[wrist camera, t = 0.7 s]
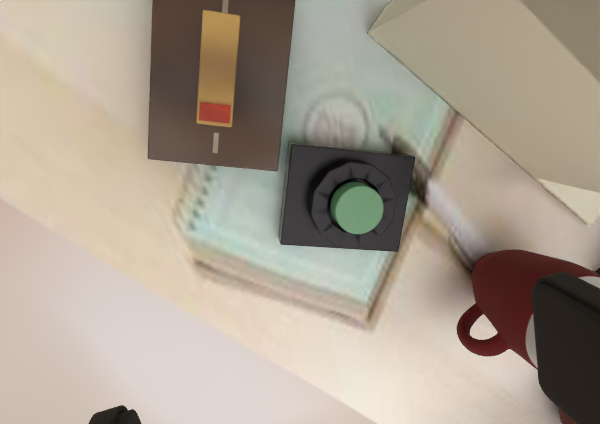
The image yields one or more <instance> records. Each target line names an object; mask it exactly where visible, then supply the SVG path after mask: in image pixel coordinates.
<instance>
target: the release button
mask: <svg viewBox="0 0 600 424" xmlns="http://www.w3.org/2000/svg"><path fill="white" fill-rule="evenodd" d="M330 210H331V214H332V216H333V218H334V220H335V221H336V222H337V223H338V224H339V225H340V226H341V227H342V228H343V229H344V230H345V231H347V232H349V233H352V234H363V233H366V232H369V231H371V230H372V229H373V228H375V227H376V226H377V225H378V223H379V222H380V220H381V218H382V215H383V201H382V199H381V197H380V195H379V194H378V193H377V192H376V191H375V190H374V189H372V188H370V187H369V186H367V185H365V184H363V183H360V182H349V183H346V184H344V185H342V186H341V187H339V188H338V189H337V190H336V191H335V193H334V194H333V196H332V199H331V203H330Z"/></svg>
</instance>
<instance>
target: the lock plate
mask: <svg viewBox="0 0 600 424" xmlns="http://www.w3.org/2000/svg"><path fill="white" fill-rule="evenodd" d="M294 8H295V0H153V5H152V37H151V70H150V102H149V135H148V159H152V160H163V161H173V162H184V163H195V164H205V165H216V166H227V167H237V168H248V169H259V170H269V171H277V170H278V161H279V151H280V142H281V132H282V123H283V113H284V104H285V94H286V85H287V75H288V65H289V56H290V46H291V37H292V27H293V18H294ZM203 10H209V11H215V12H222V13H228V14H234V15H239V16H240V28H239V41H238V54H237V67H236V80H235V93H234V106H233V119H232V127H224V126H215V125H206V124H198V123H197V122H196V120H197V102H198V85H199V67H200V50H201V32H202V15H203Z"/></svg>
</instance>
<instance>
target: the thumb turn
mask: <svg viewBox="0 0 600 424" xmlns="http://www.w3.org/2000/svg"><path fill="white" fill-rule="evenodd" d="M239 28H240V16H239V15H234V14H228V13H222V12H215V11H209V10H203V15H202V32H201V50H200V67H199V85H198V102H197V120H196V122H197V123H198V124H206V125H215V126H224V127H232V119H233V106H234V93H235V80H236V67H237V54H238V41H239Z"/></svg>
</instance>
